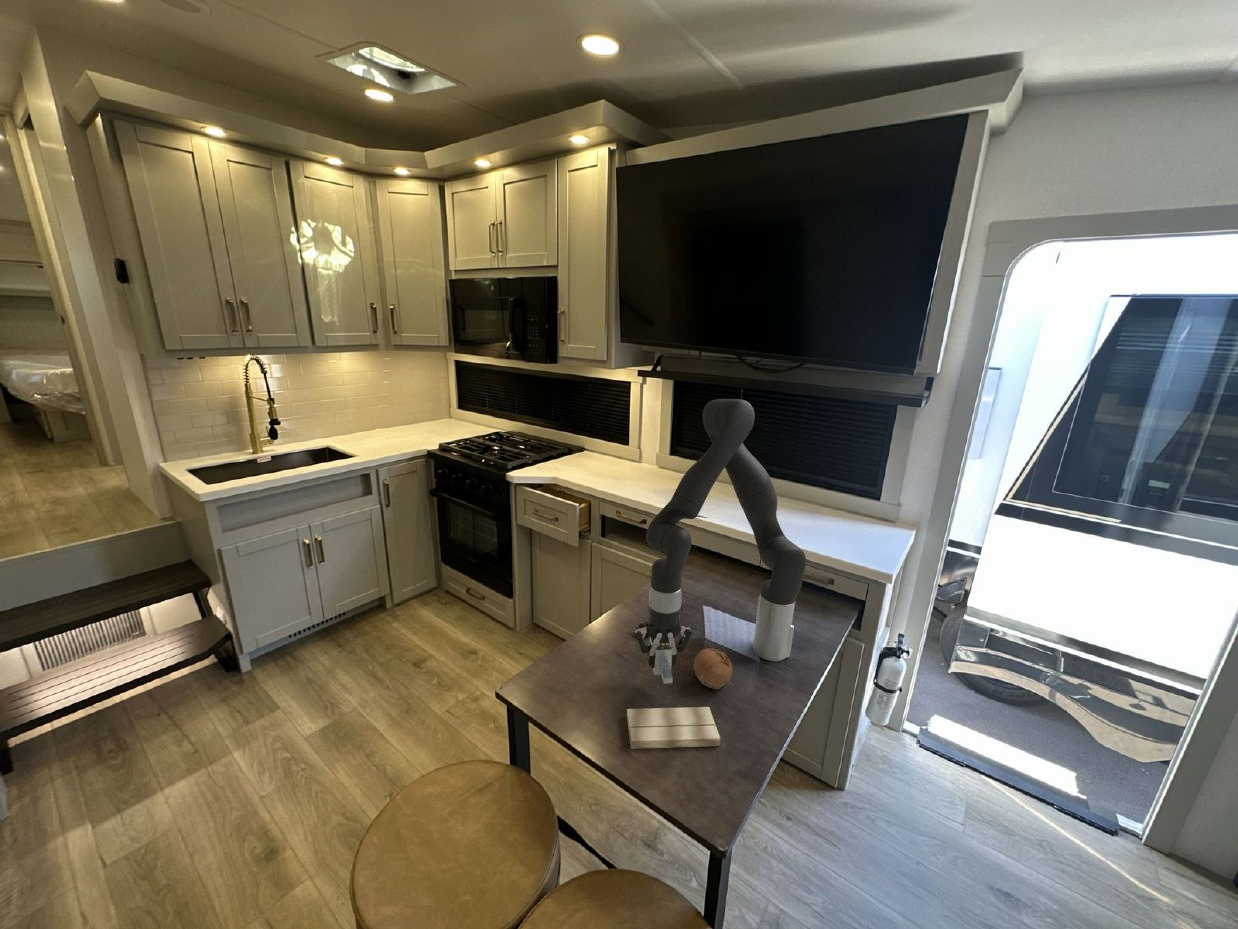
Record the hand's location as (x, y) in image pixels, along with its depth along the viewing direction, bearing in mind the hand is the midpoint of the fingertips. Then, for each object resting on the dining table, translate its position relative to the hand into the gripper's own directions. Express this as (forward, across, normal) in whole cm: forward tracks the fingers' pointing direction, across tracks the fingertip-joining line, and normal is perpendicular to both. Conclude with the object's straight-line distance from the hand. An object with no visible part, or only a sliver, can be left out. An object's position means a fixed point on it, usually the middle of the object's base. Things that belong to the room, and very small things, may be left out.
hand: (661, 665), depth 119 cm
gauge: (+1, 0, +3) cm, 3 cm away
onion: (+7, -13, -1) cm, 15 cm away
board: (+6, 0, +14) cm, 15 cm away
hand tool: (+7, -6, -27) cm, 29 cm away
